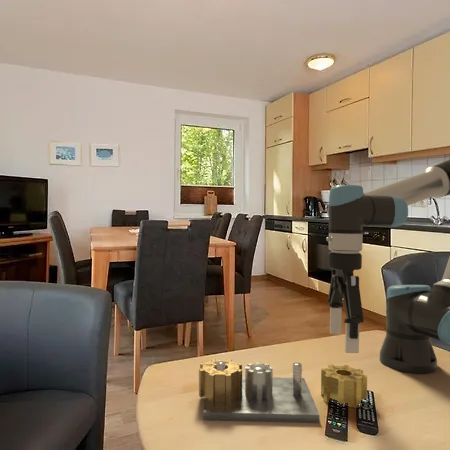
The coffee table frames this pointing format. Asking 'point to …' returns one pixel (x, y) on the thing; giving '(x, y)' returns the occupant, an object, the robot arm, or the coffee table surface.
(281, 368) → the coffee table surface
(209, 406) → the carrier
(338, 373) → the gear
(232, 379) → the seated gear
